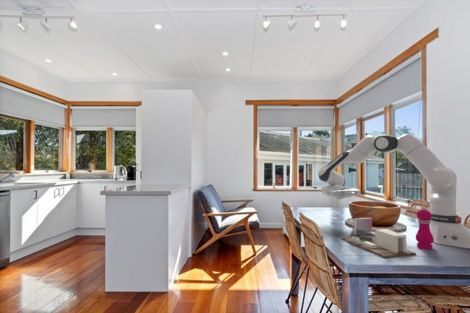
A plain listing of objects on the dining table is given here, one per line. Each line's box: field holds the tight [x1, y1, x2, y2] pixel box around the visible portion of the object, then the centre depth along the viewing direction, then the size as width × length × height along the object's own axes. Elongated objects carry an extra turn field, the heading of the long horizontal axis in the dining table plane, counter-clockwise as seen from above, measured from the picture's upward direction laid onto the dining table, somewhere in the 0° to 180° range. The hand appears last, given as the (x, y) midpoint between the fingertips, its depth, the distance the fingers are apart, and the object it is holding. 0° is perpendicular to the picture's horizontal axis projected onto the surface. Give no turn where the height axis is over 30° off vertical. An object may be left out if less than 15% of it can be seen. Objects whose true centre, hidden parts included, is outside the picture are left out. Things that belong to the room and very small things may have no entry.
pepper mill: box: [415, 206, 434, 251], centre depth 131 cm, size 7×7×20 cm
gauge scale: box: [351, 236, 377, 248], centre depth 134 cm, size 14×3×2 cm, turn 13°
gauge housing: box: [375, 228, 407, 253], centre depth 127 cm, size 12×6×8 cm, turn 13°
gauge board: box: [340, 236, 417, 259], centre depth 133 cm, size 30×17×1 cm, turn 13°
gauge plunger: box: [352, 217, 376, 238], centre depth 135 cm, size 20×14×10 cm
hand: (352, 194), depth 162 cm, fingers closed
